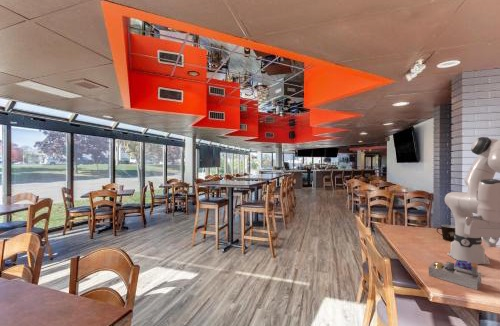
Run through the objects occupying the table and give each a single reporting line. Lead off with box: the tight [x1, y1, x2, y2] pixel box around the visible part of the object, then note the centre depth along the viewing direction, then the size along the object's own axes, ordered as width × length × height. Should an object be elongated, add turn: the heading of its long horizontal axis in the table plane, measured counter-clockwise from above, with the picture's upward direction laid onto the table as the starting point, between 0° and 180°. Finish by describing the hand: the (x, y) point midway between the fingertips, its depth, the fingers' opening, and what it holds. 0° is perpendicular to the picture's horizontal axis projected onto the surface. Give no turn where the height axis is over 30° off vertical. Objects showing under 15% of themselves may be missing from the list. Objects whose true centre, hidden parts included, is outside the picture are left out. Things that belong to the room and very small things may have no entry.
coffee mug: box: [436, 224, 455, 242], centre depth 180 cm, size 12×9×10 cm
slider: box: [471, 263, 479, 276], centre depth 112 cm, size 3×1×5 cm, turn 129°
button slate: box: [445, 261, 455, 271], centre depth 119 cm, size 3×3×4 cm
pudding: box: [454, 260, 480, 273], centre depth 127 cm, size 12×12×5 cm
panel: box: [428, 261, 482, 291], centre depth 118 cm, size 10×18×5 cm, turn 39°
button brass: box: [434, 261, 444, 268], centre depth 123 cm, size 3×3×4 cm
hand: (490, 246), depth 108 cm, fingers closed
